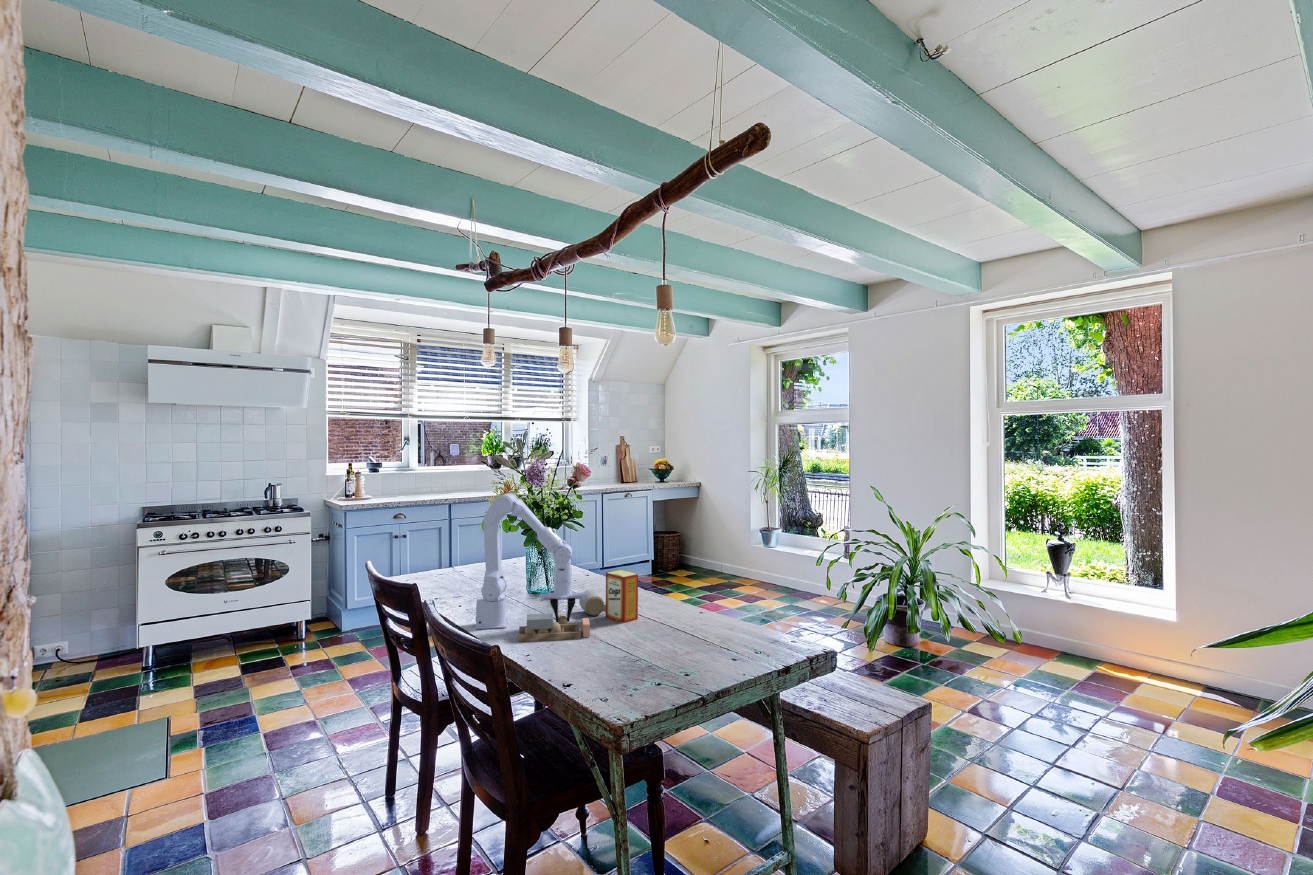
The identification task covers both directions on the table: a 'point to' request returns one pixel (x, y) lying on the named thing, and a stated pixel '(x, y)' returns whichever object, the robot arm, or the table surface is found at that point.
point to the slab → (539, 621)
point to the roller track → (545, 636)
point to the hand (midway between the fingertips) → (562, 621)
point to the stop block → (585, 627)
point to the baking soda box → (622, 596)
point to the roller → (562, 619)
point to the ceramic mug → (592, 603)
